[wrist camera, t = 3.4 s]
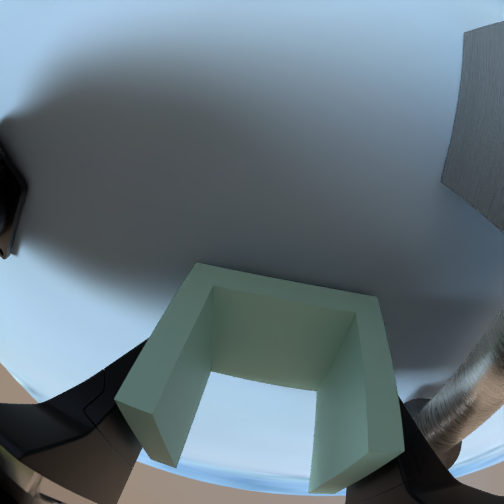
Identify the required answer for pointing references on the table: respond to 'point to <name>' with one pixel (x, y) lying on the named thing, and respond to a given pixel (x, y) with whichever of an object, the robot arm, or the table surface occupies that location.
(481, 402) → the shaft
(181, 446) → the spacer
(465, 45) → the cradle rig
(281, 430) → the table surface
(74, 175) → the table surface
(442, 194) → the table surface
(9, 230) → the robot arm
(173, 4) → the table surface
